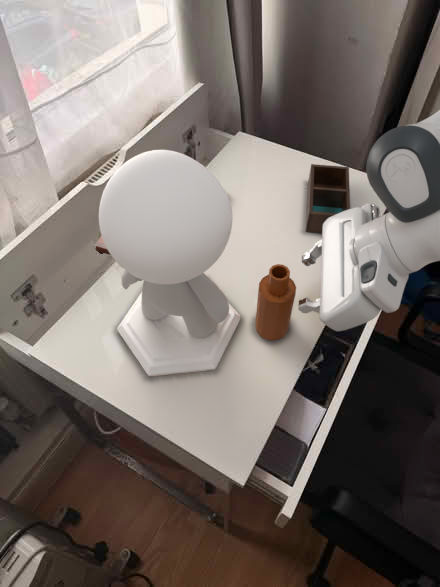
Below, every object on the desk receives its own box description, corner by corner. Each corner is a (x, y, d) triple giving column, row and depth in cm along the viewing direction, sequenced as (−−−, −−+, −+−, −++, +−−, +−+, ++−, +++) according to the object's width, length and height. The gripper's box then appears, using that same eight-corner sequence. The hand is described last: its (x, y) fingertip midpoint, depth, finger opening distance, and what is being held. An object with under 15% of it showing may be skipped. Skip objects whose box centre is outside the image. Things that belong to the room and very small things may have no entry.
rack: (343, 186, 102) (348, 166, 98) (344, 235, 93) (350, 216, 89) (307, 183, 103) (311, 164, 99) (305, 231, 94) (309, 213, 90)
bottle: (288, 314, 82) (299, 259, 69) (287, 342, 78) (298, 289, 65) (257, 311, 82) (262, 255, 69) (253, 338, 79) (258, 285, 66)
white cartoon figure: (252, 295, 84) (263, 138, 56) (201, 398, 72) (182, 263, 44) (162, 264, 89) (130, 105, 61) (100, 356, 77) (24, 210, 49)
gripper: (367, 186, 65) (294, 225, 74) (372, 297, 54) (285, 327, 63) (389, 211, 68) (316, 245, 77) (398, 320, 57) (311, 346, 66)
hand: (302, 283), depth 70 cm, fingers open, 8 cm apart
